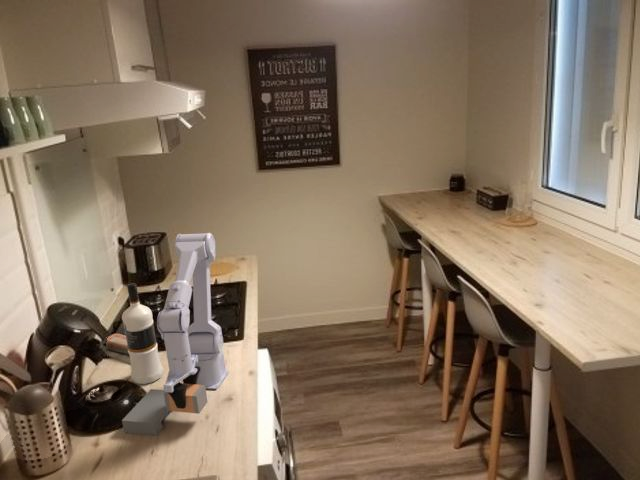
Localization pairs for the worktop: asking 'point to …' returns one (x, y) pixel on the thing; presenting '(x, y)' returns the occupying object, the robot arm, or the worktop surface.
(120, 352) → the packaged product
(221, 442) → the worktop surface
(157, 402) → the stand
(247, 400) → the worktop surface
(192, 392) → the block
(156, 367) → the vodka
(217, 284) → the worktop surface
